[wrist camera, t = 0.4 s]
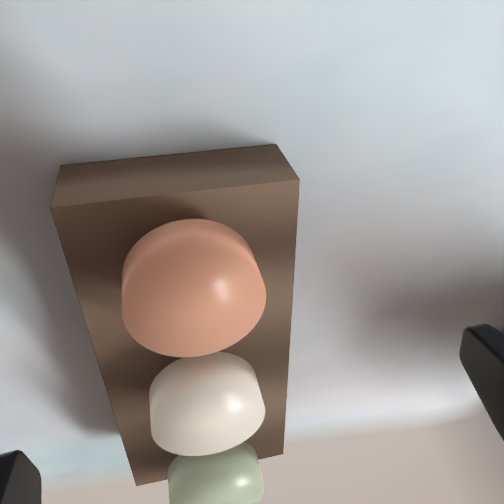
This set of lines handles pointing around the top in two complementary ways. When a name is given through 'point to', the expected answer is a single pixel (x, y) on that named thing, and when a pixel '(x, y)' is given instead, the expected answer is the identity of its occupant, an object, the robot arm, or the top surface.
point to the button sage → (217, 478)
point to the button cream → (205, 404)
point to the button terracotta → (191, 289)
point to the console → (157, 214)
